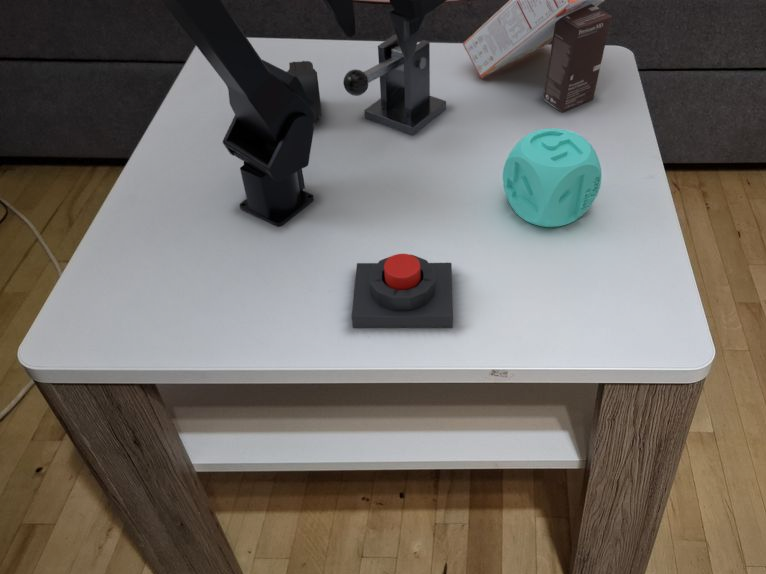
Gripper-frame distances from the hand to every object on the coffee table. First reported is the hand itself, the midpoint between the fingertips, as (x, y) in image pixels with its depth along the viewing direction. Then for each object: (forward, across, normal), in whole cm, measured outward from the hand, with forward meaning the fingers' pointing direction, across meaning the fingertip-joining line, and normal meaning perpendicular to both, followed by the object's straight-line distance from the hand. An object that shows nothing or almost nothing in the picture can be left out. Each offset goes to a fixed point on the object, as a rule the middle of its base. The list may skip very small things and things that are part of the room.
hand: (379, 47), depth 89 cm
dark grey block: (+12, +14, +5) cm, 20 cm away
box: (+15, -13, -22) cm, 30 cm away
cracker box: (+13, +2, -26) cm, 30 cm away
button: (+8, -21, +22) cm, 31 cm away
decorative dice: (+13, -24, 0) cm, 27 cm away
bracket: (+13, +2, -6) cm, 15 cm away
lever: (+6, +2, -1) cm, 6 cm away
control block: (+11, -21, +22) cm, 33 cm away
